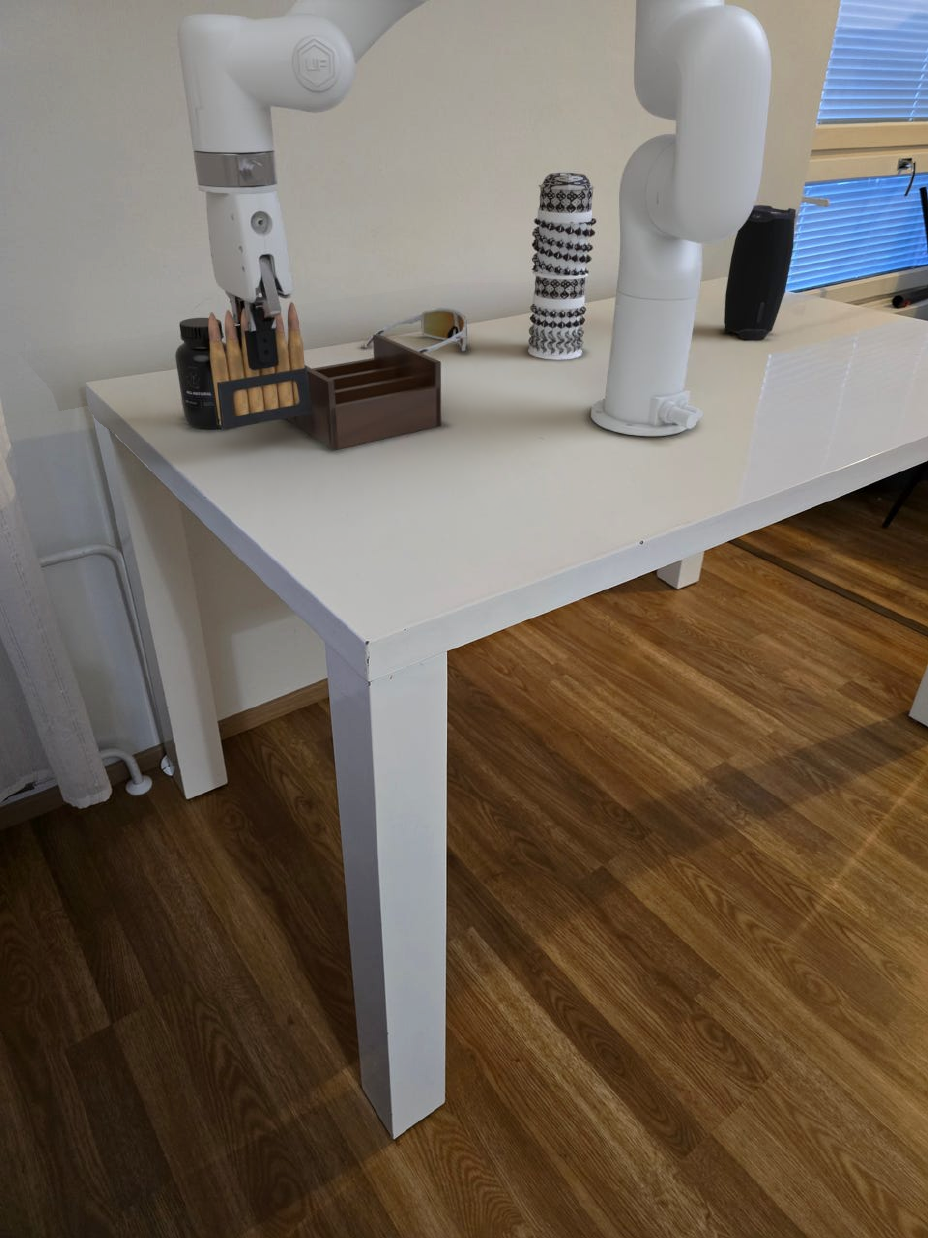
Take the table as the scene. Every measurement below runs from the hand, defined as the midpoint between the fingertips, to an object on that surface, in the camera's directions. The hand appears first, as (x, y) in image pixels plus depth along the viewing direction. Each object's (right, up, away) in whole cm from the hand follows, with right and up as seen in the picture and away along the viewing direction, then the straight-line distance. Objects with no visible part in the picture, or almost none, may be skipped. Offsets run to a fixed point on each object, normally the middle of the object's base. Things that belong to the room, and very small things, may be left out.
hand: (259, 363), depth 91 cm
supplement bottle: (-9, -3, +15) cm, 18 cm away
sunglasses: (+15, +15, +43) cm, 48 cm away
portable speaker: (+70, +21, +53) cm, 91 cm away
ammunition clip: (0, -5, +3) cm, 6 cm away
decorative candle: (+37, +15, +43) cm, 58 cm away
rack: (+9, -2, +15) cm, 18 cm away
